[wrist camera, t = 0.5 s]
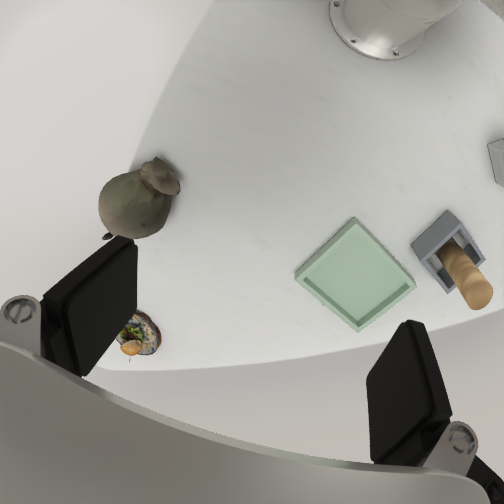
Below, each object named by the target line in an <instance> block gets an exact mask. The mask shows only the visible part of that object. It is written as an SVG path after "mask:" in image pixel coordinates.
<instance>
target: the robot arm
mask: <svg viewBox="0 0 504 504" xmlns="http://www.w3.org/2000/svg"><path fill="white" fill-rule="evenodd" d="M480 1H481V2H482V3H483V4H485V5H486V6H487V7H488V8H489V9H491V10H492V11H493V12H494V13H495V14H496V15H497V16H499V17H500V18H501V19H502V20H503V21H504V0H480ZM462 2H463V0H331V2H330V18H331V21H332V24H333V27H334V28H335V30H336V32H337V34H338V35H339V36H340V37H341V39H342V40H343V41H344V42H345V43H346V44H347V45H349V46H350V47H351V48H352V49H354V50H355V51H357V52H358V53H360V54H363V55H365V56H367V57H370V58H374V59H377V60H385V61H387V60H397V59H401V58H404V57H406V56H408V55H410V54H412V53H413V52H415V51H416V50H417V49H418V47H419V46H420V45H421V43H422V41H423V39H424V36H425V29H427V28H428V27H430V26H431V25H433V24H434V23H436V22H438V21H439V20H441V19H442V18H444V17H445V16H447V15H449V14H450V13H452V12H453V11H455V10H456V9H457V8H458V7H459V6H460V5H461V4H462ZM334 5H338V7H335V6H334ZM352 40H353V41H354V42H355V43H351V41H352ZM393 52H394V53H396V56H394V55H393ZM137 261H138V247H137V245H135V244H134V240H133V239H130V238H127V237H124V236H121V235H117V236H116V237H114V238H113V239H112V240H110V241H109V242H108V243H106V244H105V245H104V246H102V247H101V248H100V249H99V250H97V251H96V252H95V253H94V254H92V255H91V256H90V257H88V258H87V259H86V260H85V261H83V262H82V263H81V264H80V265H78V266H77V267H76V268H75V269H73V270H72V271H71V272H70V273H69V274H67V275H66V276H65V277H64V278H63V279H61V280H60V281H59V282H58V283H57V284H55V285H54V286H53V287H52V288H51V289H50V290H48V291H47V292H46V293H45V294H44V295H43V298H44V299H42V300H41V301H40V302H38V300H37V299H35V298H34V297H31V296H28V295H20V296H15V297H13V298H11V299H9V300H8V301H6V302H5V303H4V304H3V306H2V307H1V310H0V504H504V482H503V480H502V479H501V478H500V477H499V476H498V475H497V474H496V473H495V472H494V471H492V470H491V469H490V468H489V467H488V466H487V465H486V464H485V463H484V462H483V461H482V460H481V459H480V458H478V457H477V456H476V452H477V449H478V439H477V436H476V434H475V433H474V431H473V429H472V428H471V427H470V426H469V425H467V424H465V423H464V422H460V421H454V422H450V417H451V416H452V410H451V406H450V403H449V399H448V395H447V392H446V389H445V385H444V382H443V379H442V375H441V372H440V369H439V366H438V363H437V360H436V357H435V354H434V351H433V348H432V345H431V342H430V339H429V337H428V334H427V331H426V328H425V326H424V324H423V323H421V322H417V321H414V320H410V319H409V320H407V321H406V322H402V323H401V324H400V325H399V327H398V329H397V330H396V332H395V333H394V335H393V337H392V338H391V340H390V342H389V343H388V345H387V346H386V348H385V349H384V351H383V353H382V354H381V356H380V357H379V359H378V360H377V362H376V363H375V365H374V366H373V368H372V369H371V371H370V372H369V374H368V376H367V379H366V387H367V399H368V413H369V432H370V458H371V460H372V461H374V464H369V463H360V462H351V461H343V460H335V459H328V458H322V457H315V456H309V455H304V454H299V453H293V452H288V451H284V450H279V449H274V448H270V447H266V446H261V445H257V444H253V443H249V442H245V441H242V440H237V439H234V438H231V437H227V436H223V435H221V434H217V433H214V432H211V431H207V430H205V429H201V428H198V427H195V426H192V425H190V424H186V423H184V422H181V421H178V420H176V419H173V418H170V417H167V416H165V415H162V414H159V413H157V412H154V411H152V410H150V409H147V408H145V407H142V406H140V405H138V404H135V403H133V402H131V401H128V400H126V399H124V398H122V397H119V396H117V395H115V394H113V393H111V392H109V391H107V390H105V389H102V388H100V387H98V386H96V385H94V384H92V383H90V382H88V381H86V380H84V379H82V378H81V377H82V376H87V375H88V374H89V373H90V371H91V370H92V369H93V367H94V366H95V365H96V363H97V362H98V361H99V359H100V358H101V357H102V355H103V354H104V353H105V351H106V350H107V349H108V347H109V346H110V345H111V343H112V342H113V341H114V340H115V338H116V337H117V336H118V334H119V333H120V332H121V331H122V329H123V328H124V327H125V325H126V324H127V323H128V322H129V320H130V319H131V318H132V317H133V315H134V314H135V312H136V309H137Z"/></svg>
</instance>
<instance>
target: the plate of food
mask: <svg viewBox="0 0 504 504" xmlns="http://www.w3.org/2000/svg"><path fill="white" fill-rule="evenodd" d="M116 340H117V341H118V342H119V343H120V344H121V346H120V348H121V350H122V351H123V352H124V353H125V354H127V355H136V354H139V355H150V354H153V353H154V352H155V351H156V350H157V348H158V347H159V346H160V344H161V333H160V331H159V328H158V327H157V326H156V325H155V324H154V323H153V322H152V320H151V318H150V317H148V315H147V314H145V313H142V314H137V313H135V314H134V315H133V317H132V318H131V319H130V320H129V322H128V323H127V324H126V325H125V327H124V328H123V329H122V331H121V332H120V333H119V334H118V336H117V337H116ZM129 362H130V361H129Z"/></svg>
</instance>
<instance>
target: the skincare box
mask: <svg viewBox="0 0 504 504" xmlns="http://www.w3.org/2000/svg"><path fill="white" fill-rule="evenodd" d="M487 146H488V149H489V153H490V157H491V161H492V166H493V170H494V175H495V179H496V183H498V184H500V185H501V186H503V187H504V139H502V140H499V141H496V142H494V143H491V144H488V145H487Z"/></svg>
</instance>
